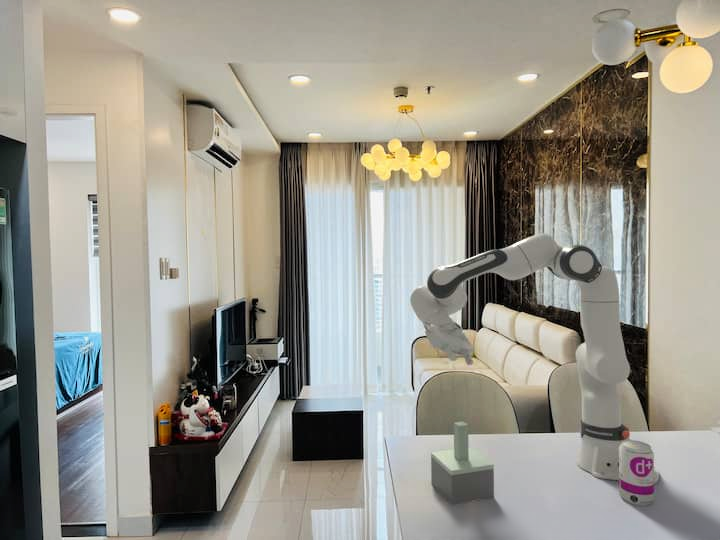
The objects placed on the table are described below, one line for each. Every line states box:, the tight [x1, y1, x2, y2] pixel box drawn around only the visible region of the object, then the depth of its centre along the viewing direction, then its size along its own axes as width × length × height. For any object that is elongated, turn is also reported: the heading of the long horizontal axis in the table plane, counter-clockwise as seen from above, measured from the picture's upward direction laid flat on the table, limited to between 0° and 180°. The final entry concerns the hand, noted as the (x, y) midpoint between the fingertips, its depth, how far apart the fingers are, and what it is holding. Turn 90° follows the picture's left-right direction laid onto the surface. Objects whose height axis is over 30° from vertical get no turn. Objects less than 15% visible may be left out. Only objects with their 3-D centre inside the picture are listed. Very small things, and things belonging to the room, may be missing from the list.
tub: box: [430, 456, 495, 505], centre depth 135 cm, size 13×13×8 cm
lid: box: [430, 421, 495, 475], centre depth 135 cm, size 13×13×13 cm
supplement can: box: [618, 439, 655, 507], centre depth 129 cm, size 8×8×15 cm
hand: (463, 362), depth 142 cm, fingers open, 8 cm apart
